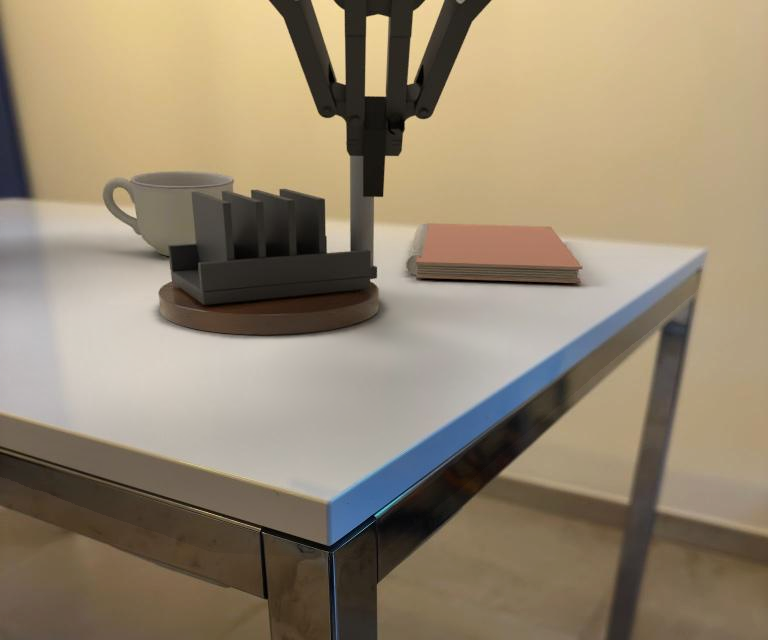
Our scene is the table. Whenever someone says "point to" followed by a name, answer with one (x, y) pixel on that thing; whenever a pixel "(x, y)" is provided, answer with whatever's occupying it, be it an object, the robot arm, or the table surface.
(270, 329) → the turntable
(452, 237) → the notebook
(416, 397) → the table surface
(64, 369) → the table surface
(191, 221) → the teacup
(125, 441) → the table surface
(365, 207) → the dish rack
